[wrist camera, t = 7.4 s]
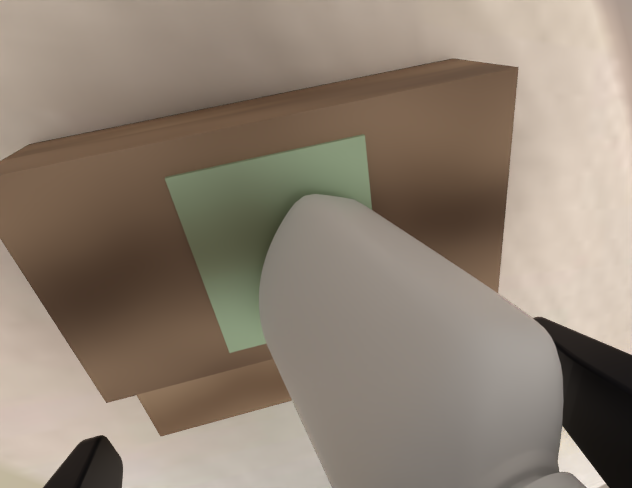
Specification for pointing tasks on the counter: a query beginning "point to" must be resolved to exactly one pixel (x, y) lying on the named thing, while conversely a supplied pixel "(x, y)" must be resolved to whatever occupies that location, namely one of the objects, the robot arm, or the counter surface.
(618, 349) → the robot arm
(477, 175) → the step riser
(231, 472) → the counter surface
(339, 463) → the eye dropper bottle
